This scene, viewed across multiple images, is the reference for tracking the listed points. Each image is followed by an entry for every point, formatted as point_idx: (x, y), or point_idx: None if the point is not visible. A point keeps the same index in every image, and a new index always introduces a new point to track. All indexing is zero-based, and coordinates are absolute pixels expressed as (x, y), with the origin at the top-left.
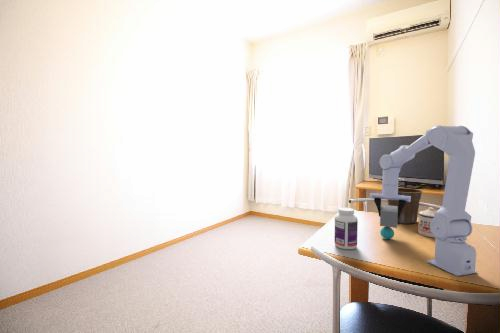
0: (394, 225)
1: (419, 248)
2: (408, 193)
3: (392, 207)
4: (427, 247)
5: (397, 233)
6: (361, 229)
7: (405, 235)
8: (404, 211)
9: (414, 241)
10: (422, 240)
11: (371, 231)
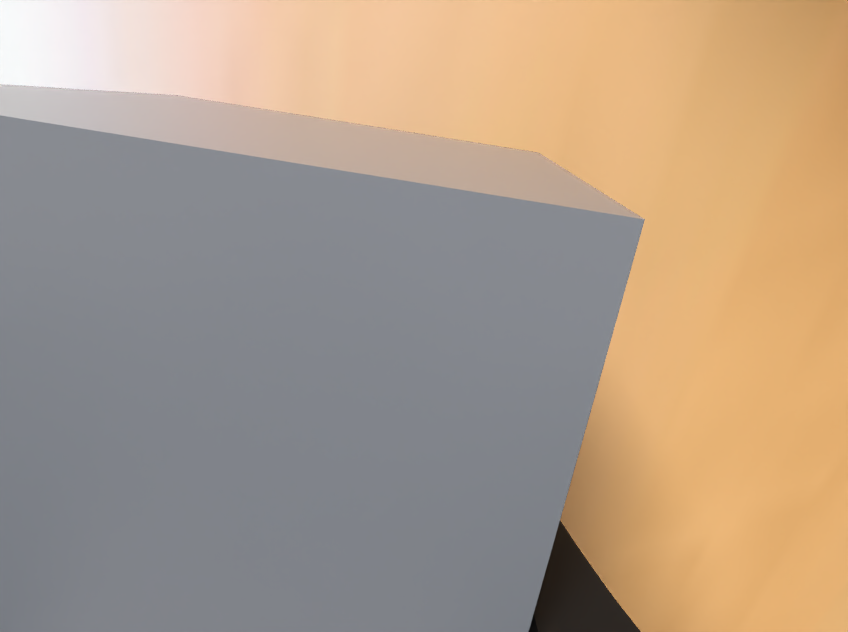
0: None
1: (662, 549)
2: None
3: (299, 593)
4: (770, 498)
5: (554, 16)
6: (12, 9)
7: (657, 87)
8: None
9: (695, 335)
10: (832, 255)
11: (164, 66)
